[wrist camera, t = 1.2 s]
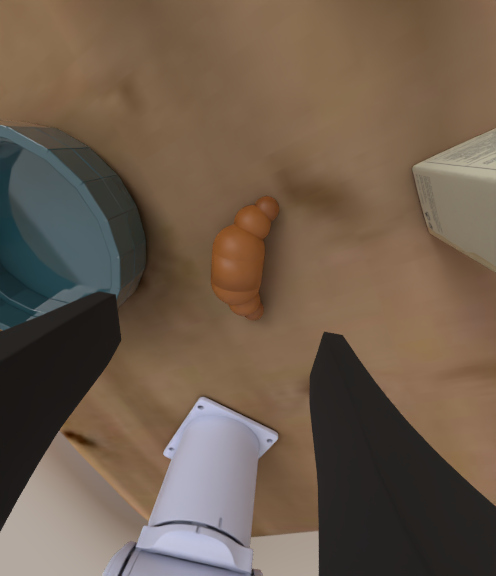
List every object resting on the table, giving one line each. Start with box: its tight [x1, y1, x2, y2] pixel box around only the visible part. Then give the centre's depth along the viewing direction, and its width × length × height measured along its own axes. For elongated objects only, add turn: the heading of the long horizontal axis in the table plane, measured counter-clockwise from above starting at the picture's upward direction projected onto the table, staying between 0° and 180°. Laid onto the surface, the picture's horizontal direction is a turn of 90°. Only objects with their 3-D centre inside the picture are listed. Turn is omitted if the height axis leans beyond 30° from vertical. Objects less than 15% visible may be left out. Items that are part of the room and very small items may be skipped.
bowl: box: [0, 120, 146, 330], centre depth 19 cm, size 13×13×4 cm
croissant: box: [211, 196, 279, 320], centre depth 19 cm, size 4×8×3 cm, turn 174°
